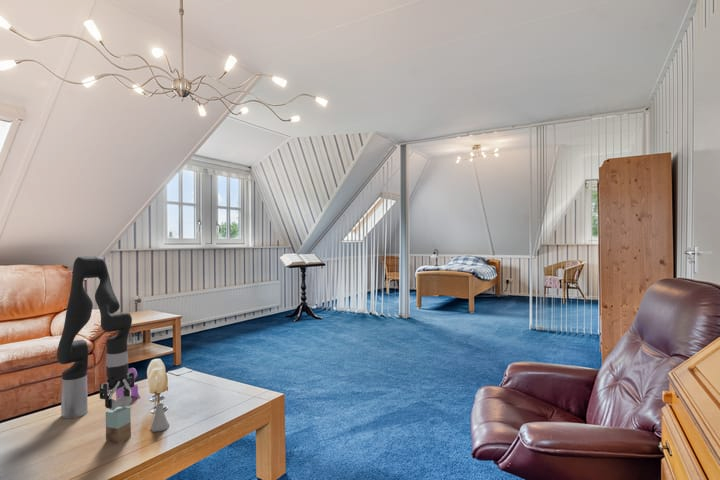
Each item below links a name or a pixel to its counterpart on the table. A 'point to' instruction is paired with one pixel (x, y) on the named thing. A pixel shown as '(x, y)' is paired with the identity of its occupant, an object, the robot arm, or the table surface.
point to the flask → (159, 419)
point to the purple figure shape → (133, 390)
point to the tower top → (118, 417)
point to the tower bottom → (118, 434)
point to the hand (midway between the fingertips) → (117, 403)
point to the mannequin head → (121, 402)
